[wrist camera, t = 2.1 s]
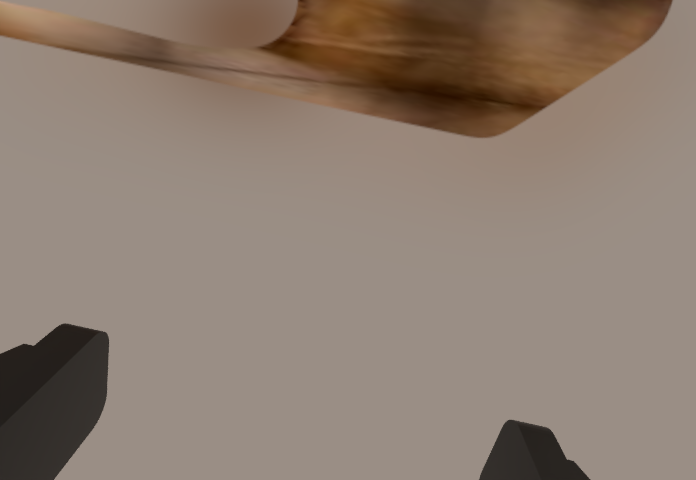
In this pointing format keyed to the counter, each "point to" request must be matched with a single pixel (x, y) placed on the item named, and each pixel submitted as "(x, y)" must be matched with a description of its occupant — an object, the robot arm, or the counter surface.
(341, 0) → the counter surface
